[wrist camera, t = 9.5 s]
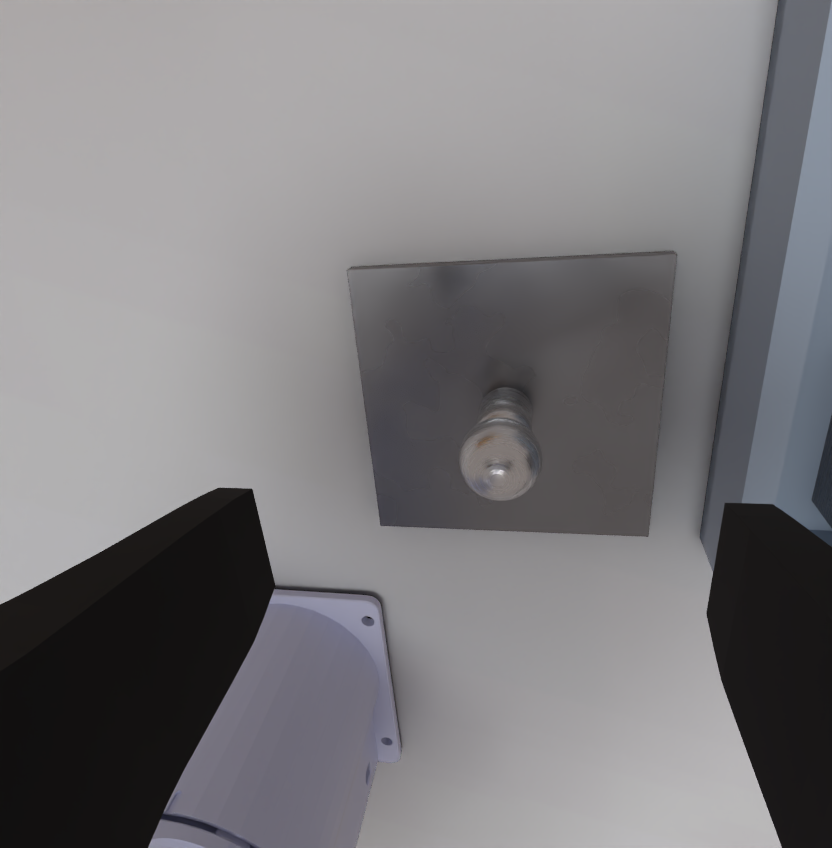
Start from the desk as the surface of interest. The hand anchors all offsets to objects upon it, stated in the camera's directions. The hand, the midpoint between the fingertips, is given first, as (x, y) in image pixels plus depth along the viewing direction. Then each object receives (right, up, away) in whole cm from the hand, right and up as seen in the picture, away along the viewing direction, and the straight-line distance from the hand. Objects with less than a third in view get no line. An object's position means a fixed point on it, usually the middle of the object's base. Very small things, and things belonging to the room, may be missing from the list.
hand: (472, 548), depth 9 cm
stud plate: (+2, +3, +10) cm, 10 cm away
